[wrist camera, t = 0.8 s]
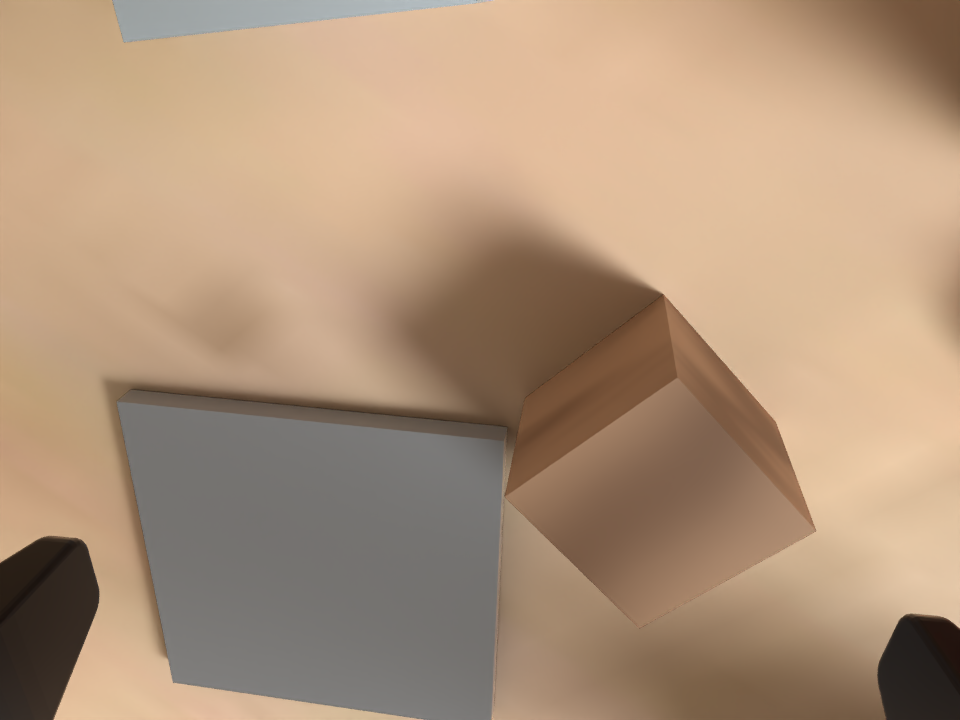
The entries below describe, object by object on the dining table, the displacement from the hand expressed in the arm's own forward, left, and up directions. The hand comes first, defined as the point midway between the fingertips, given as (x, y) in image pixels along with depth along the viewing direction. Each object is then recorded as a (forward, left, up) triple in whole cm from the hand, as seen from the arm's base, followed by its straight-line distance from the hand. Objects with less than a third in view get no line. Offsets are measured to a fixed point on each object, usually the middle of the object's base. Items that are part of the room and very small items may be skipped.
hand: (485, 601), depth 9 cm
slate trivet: (-12, +7, -14) cm, 19 cm away
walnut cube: (-5, -3, -14) cm, 15 cm away
